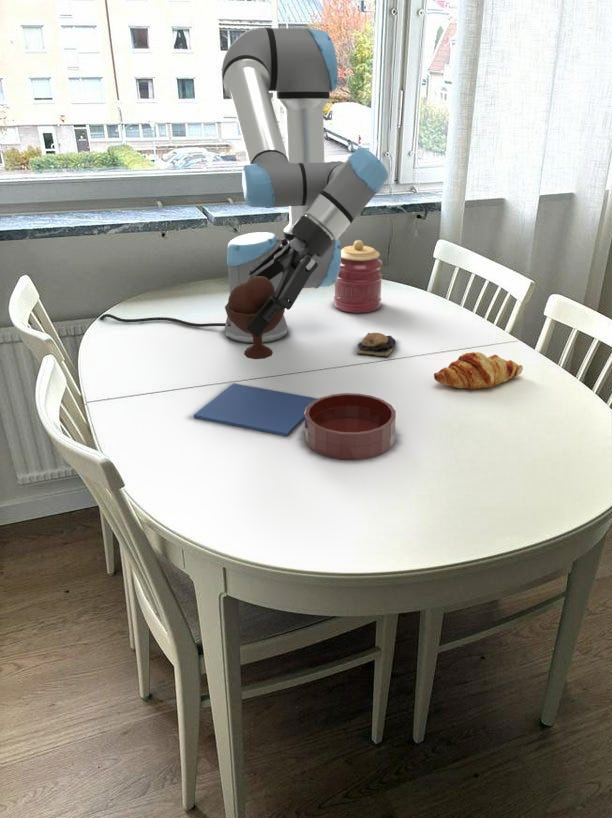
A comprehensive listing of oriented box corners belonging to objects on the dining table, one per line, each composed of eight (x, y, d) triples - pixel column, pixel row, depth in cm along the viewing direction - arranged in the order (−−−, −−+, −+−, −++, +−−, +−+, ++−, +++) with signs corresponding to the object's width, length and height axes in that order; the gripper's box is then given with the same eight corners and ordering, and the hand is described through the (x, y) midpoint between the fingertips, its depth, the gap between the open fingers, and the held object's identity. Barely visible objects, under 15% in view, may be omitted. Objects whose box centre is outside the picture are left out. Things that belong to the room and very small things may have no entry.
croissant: (511, 384, 165) (508, 349, 165) (536, 381, 156) (532, 343, 155) (427, 395, 159) (423, 358, 158) (447, 392, 149) (443, 353, 148)
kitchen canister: (339, 296, 206) (339, 232, 197) (384, 300, 204) (387, 236, 195) (328, 311, 195) (328, 244, 186) (376, 315, 193) (378, 248, 184)
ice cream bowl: (291, 344, 143) (288, 267, 135) (280, 366, 133) (276, 285, 125) (238, 341, 143) (232, 265, 135) (223, 363, 134) (216, 283, 126)
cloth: (193, 417, 141) (193, 414, 141) (233, 385, 154) (233, 383, 154) (287, 436, 136) (287, 433, 135) (320, 401, 149) (320, 399, 148)
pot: (290, 449, 132) (289, 424, 129) (326, 411, 145) (325, 387, 142) (377, 467, 127) (378, 441, 124) (405, 426, 140) (407, 401, 137)
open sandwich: (389, 358, 169) (390, 343, 167) (354, 354, 170) (354, 339, 168) (398, 342, 178) (399, 327, 176) (364, 338, 179) (365, 324, 177)
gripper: (359, 258, 124) (276, 355, 127) (310, 227, 143) (239, 313, 145) (330, 228, 120) (245, 330, 122) (283, 200, 138) (210, 290, 141)
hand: (241, 321), depth 134 cm, fingers closed on ice cream bowl, 11 cm apart
